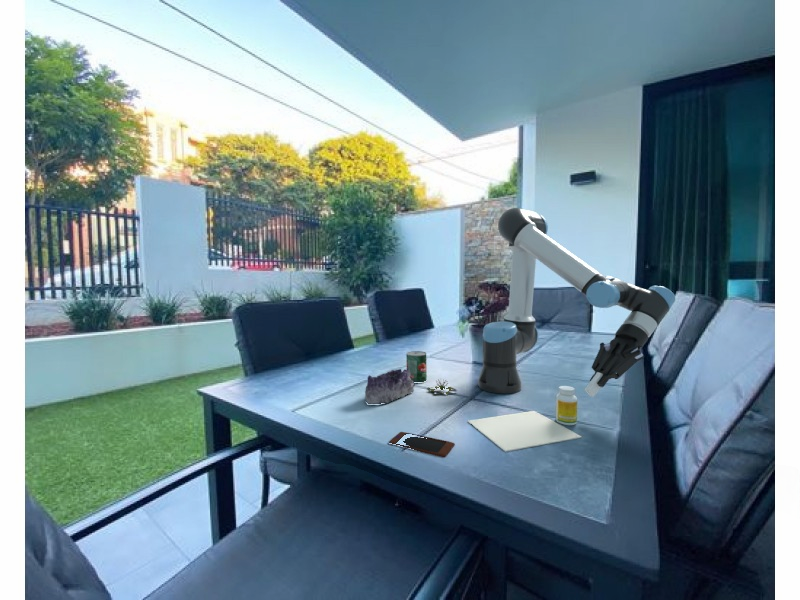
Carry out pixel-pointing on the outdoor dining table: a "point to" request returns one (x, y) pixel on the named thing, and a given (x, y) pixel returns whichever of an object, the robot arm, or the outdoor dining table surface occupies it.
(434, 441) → the smartphone
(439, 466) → the outdoor dining table surface
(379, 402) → the geode
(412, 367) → the canned tomato
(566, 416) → the supplement bottle
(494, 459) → the outdoor dining table surface
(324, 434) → the outdoor dining table surface
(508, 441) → the mat
